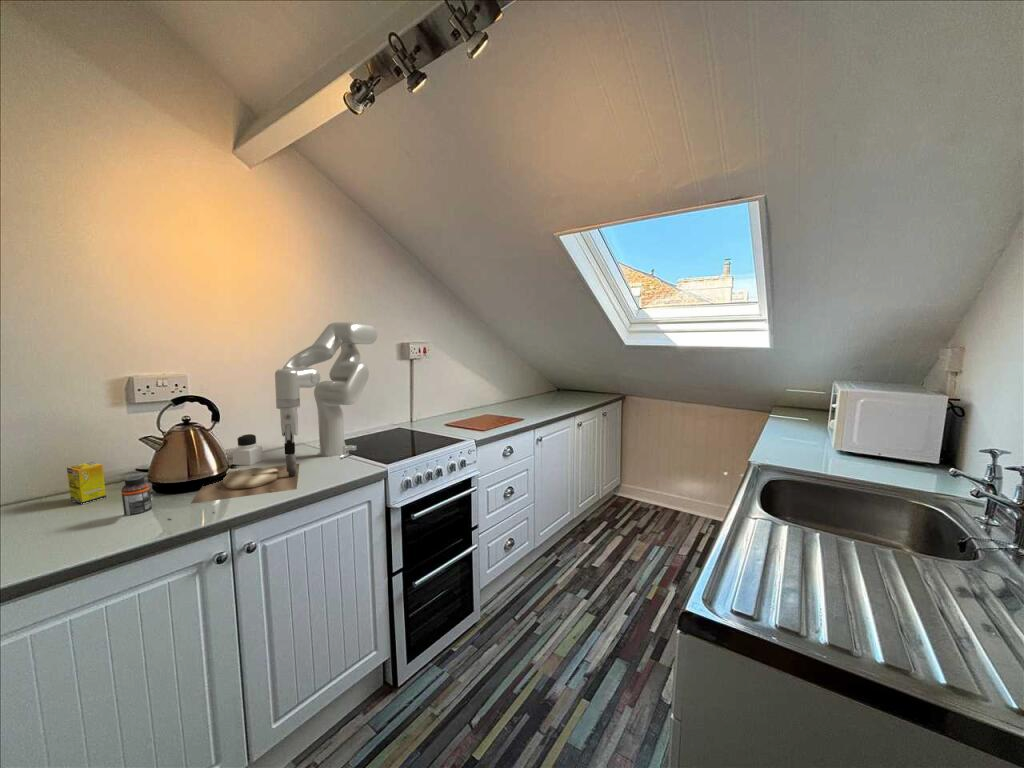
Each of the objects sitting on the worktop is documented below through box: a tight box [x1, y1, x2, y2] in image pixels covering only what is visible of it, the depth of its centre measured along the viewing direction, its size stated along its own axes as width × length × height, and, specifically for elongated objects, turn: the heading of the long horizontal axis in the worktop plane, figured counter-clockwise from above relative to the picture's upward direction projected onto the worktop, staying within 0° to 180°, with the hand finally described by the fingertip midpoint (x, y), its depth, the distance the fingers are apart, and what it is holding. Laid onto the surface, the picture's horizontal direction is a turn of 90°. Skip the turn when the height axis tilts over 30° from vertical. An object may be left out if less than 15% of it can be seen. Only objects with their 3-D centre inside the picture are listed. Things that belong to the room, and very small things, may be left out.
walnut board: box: [190, 463, 300, 504], centre depth 142 cm, size 28×28×2 cm
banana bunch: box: [223, 454, 297, 489], centre depth 143 cm, size 22×16×7 cm
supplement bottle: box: [121, 474, 153, 516], centre depth 118 cm, size 6×6×11 cm
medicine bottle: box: [231, 433, 264, 466], centre depth 162 cm, size 7×7×12 cm
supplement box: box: [66, 461, 107, 505], centre depth 129 cm, size 6×6×11 cm
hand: (290, 453), depth 152 cm, fingers closed
